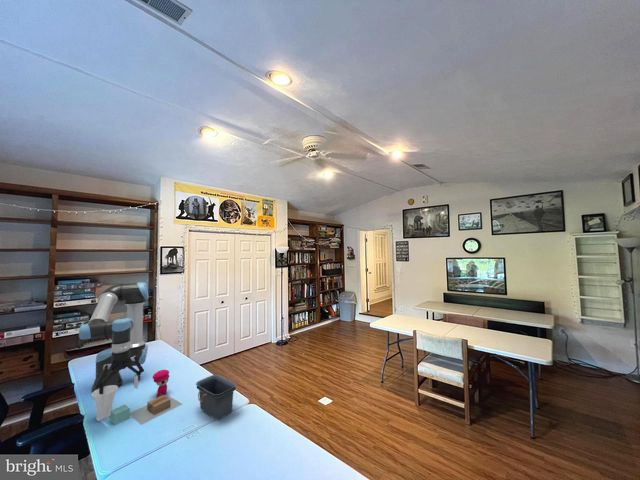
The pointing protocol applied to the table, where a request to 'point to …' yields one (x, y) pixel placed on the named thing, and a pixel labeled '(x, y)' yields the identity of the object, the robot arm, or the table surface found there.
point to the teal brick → (120, 414)
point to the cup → (104, 402)
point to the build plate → (144, 415)
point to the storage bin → (216, 395)
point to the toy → (161, 381)
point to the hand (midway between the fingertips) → (120, 393)
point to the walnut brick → (158, 404)
